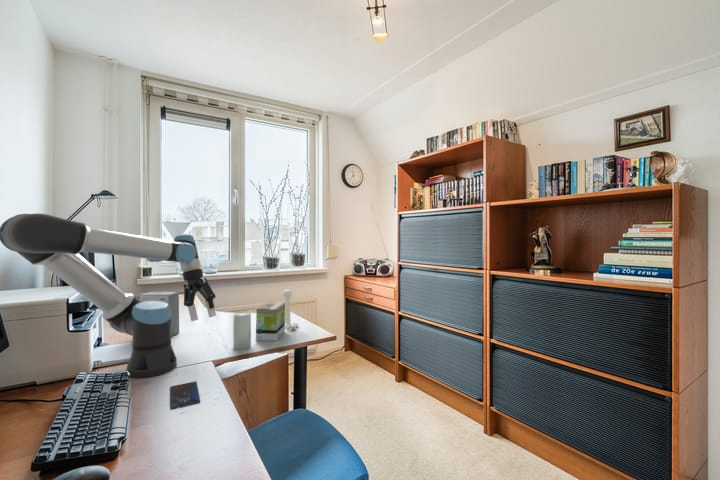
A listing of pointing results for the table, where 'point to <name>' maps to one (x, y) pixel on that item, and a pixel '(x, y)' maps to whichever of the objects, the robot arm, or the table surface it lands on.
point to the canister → (242, 331)
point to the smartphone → (184, 395)
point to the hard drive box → (170, 299)
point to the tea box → (270, 321)
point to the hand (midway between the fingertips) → (203, 318)
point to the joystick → (288, 311)
